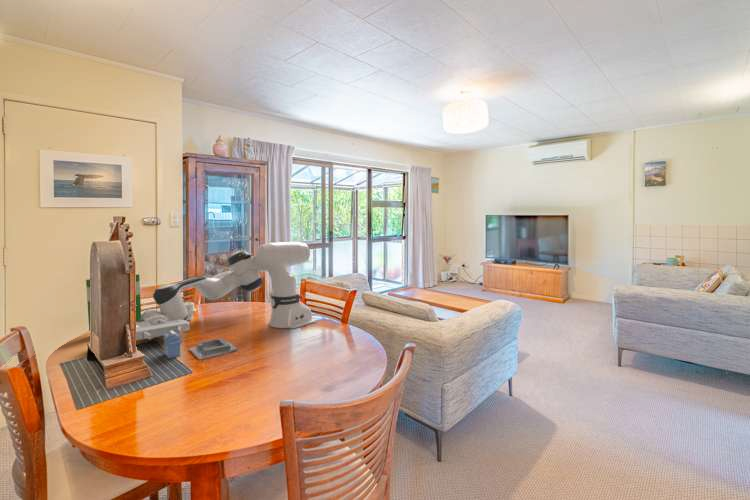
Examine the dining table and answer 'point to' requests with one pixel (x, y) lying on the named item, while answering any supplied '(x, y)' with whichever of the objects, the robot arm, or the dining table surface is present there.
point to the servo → (172, 344)
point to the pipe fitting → (190, 309)
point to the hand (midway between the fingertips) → (165, 334)
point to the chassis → (212, 348)
